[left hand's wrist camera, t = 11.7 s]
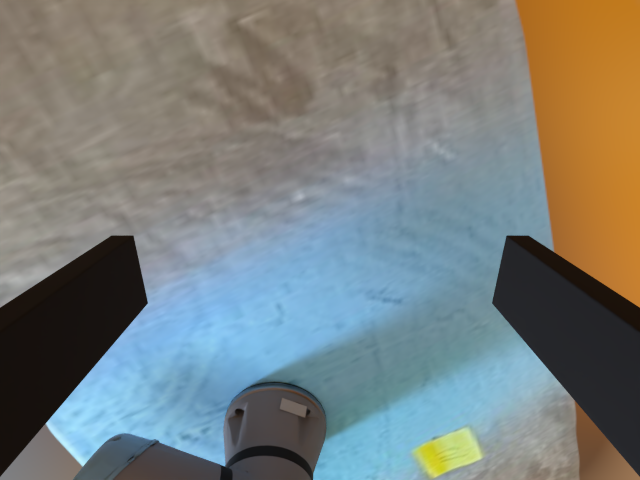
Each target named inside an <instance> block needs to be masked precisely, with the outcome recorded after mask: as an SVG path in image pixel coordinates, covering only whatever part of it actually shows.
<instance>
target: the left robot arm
mask: <svg viewBox="0 0 640 480" xmlns="http://www.w3.org/2000/svg"><path fill="white" fill-rule="evenodd" d="M147 304H148V302H147V297H146V292H145V288H144V283H143V278H142V274H141V269H140V264H139V260H138V255H137V250H136V246H135V241H134V236H110V237H109V238H107V239H106V240H104V241H103V242H101V243H100V244H98V245H96V246H95V247H93V248H92V249H90V250H89V251H87V252H86V253H84V254H83V255H81V256H79V257H78V258H76V259H75V260H73V261H72V262H70V263H69V264H67V265H66V266H64V267H62V268H61V269H59V270H58V271H56V272H55V273H53V274H52V275H50V276H49V277H47V278H45V279H44V280H42V281H41V282H39V283H38V284H36V285H35V286H33V287H32V288H30V289H28V290H27V291H25V292H24V293H22V294H21V295H19V296H18V297H16V298H15V299H13V300H11V301H10V302H8V303H7V304H5V305H4V306H2V307H1V308H0V476H1V475H2V474H3V473H4V472H5V470H6V469H7V468H8V467H9V466H10V464H11V463H12V462H13V461H14V460H15V459H16V457H17V456H18V455H19V454H20V453H21V452H22V450H23V449H24V448H25V447H26V446H27V445H28V443H29V442H30V441H31V440H32V439H33V438H34V436H35V435H36V434H37V433H38V432H39V430H40V429H41V428H42V427H43V426H44V425H45V423H46V422H47V421H48V420H49V419H50V418H51V416H52V415H53V414H54V413H55V412H56V410H57V409H58V408H59V407H60V406H61V405H62V403H63V402H64V401H65V400H66V399H67V398H68V396H69V395H70V394H71V393H72V392H73V391H74V389H75V388H76V387H77V386H78V385H79V383H80V382H81V381H82V380H83V379H84V378H85V376H86V375H87V374H88V373H89V372H90V371H91V369H92V368H93V367H94V366H95V365H96V363H97V362H98V361H99V360H100V359H101V358H102V356H103V355H104V354H105V353H106V352H107V351H108V349H109V348H110V347H111V346H112V345H113V344H114V342H115V341H116V340H117V339H118V338H119V336H120V335H121V334H122V333H123V332H124V331H125V329H126V328H127V327H128V326H129V325H130V324H131V322H132V321H133V320H134V319H135V318H136V316H137V315H138V314H139V313H140V312H141V311H142V309H143V308H144V307H145V306H146V305H147ZM492 304H493V305H494V306H495V307H496V308H497V309H498V311H499V312H500V313H501V314H502V315H503V316H504V318H505V319H506V320H507V321H508V322H509V324H510V325H511V326H512V327H513V328H514V329H515V331H516V332H517V333H518V334H519V335H520V336H521V338H522V339H523V340H524V341H525V342H526V344H527V345H528V346H529V347H530V348H531V349H532V351H533V352H534V353H535V354H536V355H537V356H538V358H539V359H540V360H541V361H542V362H543V363H544V365H545V366H546V367H547V368H548V369H549V371H550V372H551V373H552V374H553V375H554V376H555V378H556V379H557V380H558V381H559V382H560V383H561V385H562V386H563V387H564V388H565V389H566V391H567V392H568V393H569V394H570V395H571V396H572V398H573V399H574V400H575V401H576V402H577V403H578V405H579V406H580V407H581V408H582V409H583V410H584V412H585V413H586V414H587V415H588V416H589V418H590V419H591V420H592V421H593V422H594V423H595V425H596V426H597V427H598V428H599V429H600V430H601V432H602V433H603V434H604V435H605V436H606V438H607V439H608V440H609V441H610V442H611V443H612V445H613V446H614V447H615V448H616V449H617V450H618V452H619V453H620V454H621V455H622V456H623V457H624V459H625V460H626V461H627V462H628V463H629V465H630V466H631V467H632V468H633V469H634V470H635V472H636V473H637V474H638V475H639V476H640V308H639V307H638V306H636V305H635V304H633V303H632V302H630V301H629V300H627V299H625V298H624V297H622V296H621V295H619V294H618V293H616V292H615V291H613V290H611V289H610V288H608V287H607V286H605V285H604V284H602V283H601V282H599V281H598V280H596V279H594V278H593V277H591V276H590V275H588V274H587V273H585V272H584V271H582V270H581V269H579V268H577V267H576V266H574V265H573V264H571V263H570V262H568V261H567V260H565V259H564V258H562V257H561V256H559V255H557V254H556V253H554V252H553V251H551V250H550V249H548V248H547V247H545V246H544V245H542V244H540V243H539V242H537V241H536V240H534V239H533V238H531V237H530V236H506V241H505V246H504V250H503V255H502V260H501V264H500V269H499V274H498V278H497V283H496V288H495V292H494V297H493V302H492ZM325 434H326V416H325V412H324V410H323V408H322V406H321V404H320V403H319V402H318V400H317V399H316V398H315V397H313V396H312V395H311V394H310V393H308V392H306V391H305V390H303V389H301V388H298V387H296V386H292V385H289V384H283V383H265V384H259V385H255V386H252V387H250V388H248V389H246V390H244V391H242V392H241V393H239V394H238V395H237V396H236V397H235V398H234V399H233V400H232V402H231V403H230V405H229V407H228V410H227V413H226V416H225V420H224V446H225V461H226V465H225V467H224V466H222V465H220V464H217V463H214V462H211V461H208V460H205V459H203V458H200V457H197V456H194V455H191V454H188V453H186V452H183V451H180V450H177V449H175V448H172V447H170V446H167V445H164V444H162V443H159V441H158V440H155V439H154V440H149V439H145V438H142V437H138V436H135V435H132V434H126V433H124V434H119V435H116V436H114V437H112V438H110V439H109V440H108V441H106V442H105V443H104V444H103V445H102V446H101V447H100V448H99V449H98V450H97V451H96V452H95V453H94V454H93V456H92V457H91V458H90V459H89V460H88V461H87V463H86V464H85V465H84V466H83V468H82V469H81V470H80V471H79V473H78V474H77V475H76V476H75V478H74V479H73V480H313V472H314V469H315V466H316V464H317V461H318V458H319V455H320V452H321V449H322V446H323V443H324V440H325Z"/></svg>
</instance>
